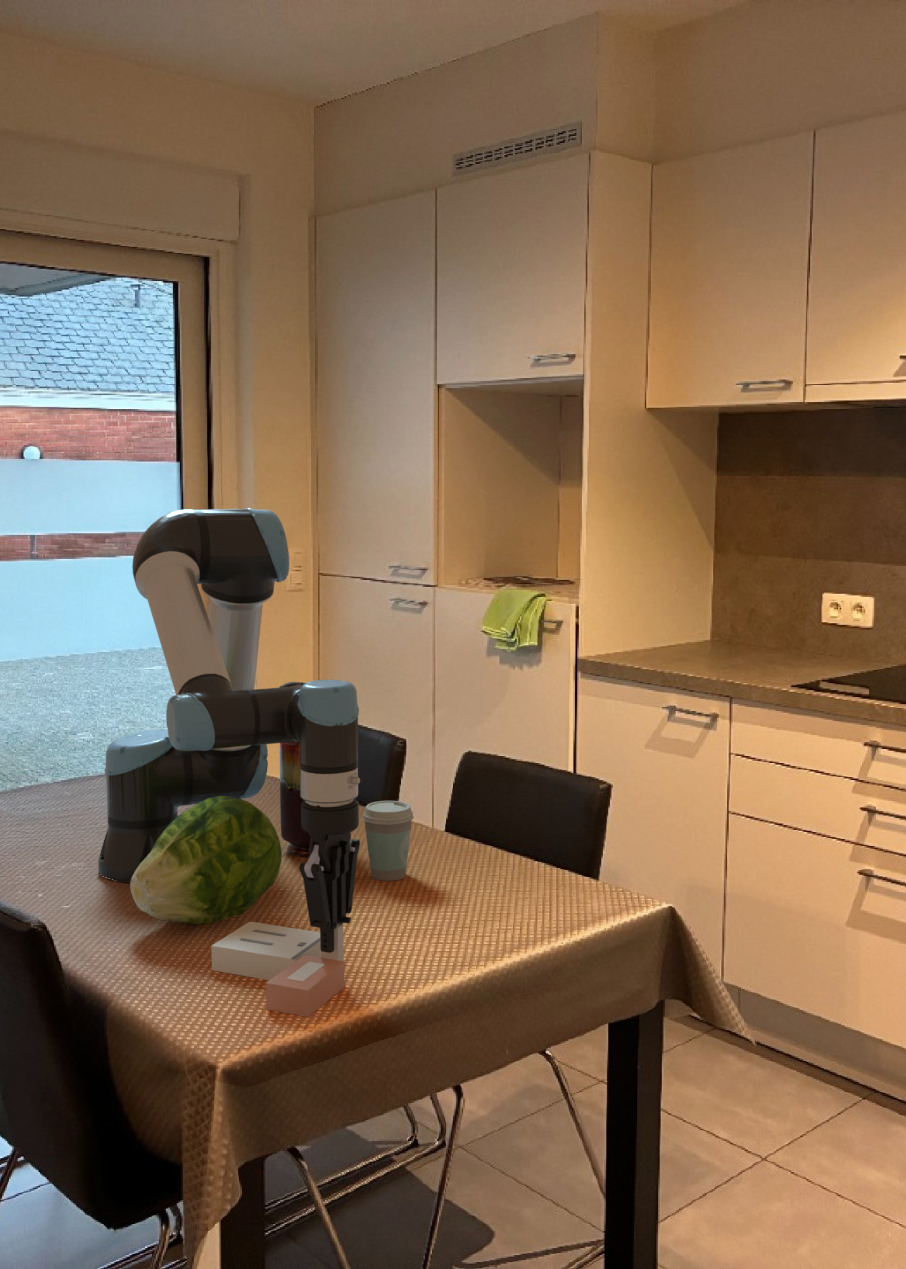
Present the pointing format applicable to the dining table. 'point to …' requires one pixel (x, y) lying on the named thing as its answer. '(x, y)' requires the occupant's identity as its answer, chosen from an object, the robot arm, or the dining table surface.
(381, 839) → the coffee cup
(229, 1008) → the dining table surface
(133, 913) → the dining table surface
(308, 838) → the vase
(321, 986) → the stub
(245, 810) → the lettuce
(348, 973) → the dining table surface
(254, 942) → the two-slot toaster
